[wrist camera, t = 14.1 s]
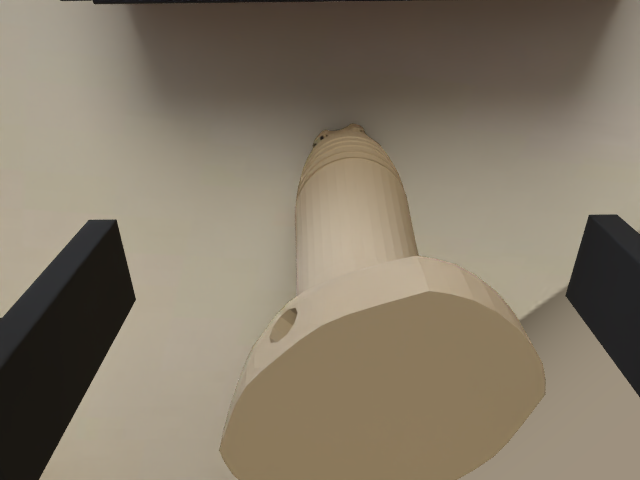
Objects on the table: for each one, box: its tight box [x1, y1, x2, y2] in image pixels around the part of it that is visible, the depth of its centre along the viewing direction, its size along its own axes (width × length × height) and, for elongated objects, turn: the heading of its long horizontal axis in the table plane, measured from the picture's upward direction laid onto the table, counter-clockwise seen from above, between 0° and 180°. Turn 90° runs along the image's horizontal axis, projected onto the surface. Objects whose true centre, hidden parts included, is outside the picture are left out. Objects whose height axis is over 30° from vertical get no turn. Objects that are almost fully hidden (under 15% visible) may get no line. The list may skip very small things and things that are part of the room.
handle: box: [219, 123, 545, 480], centre depth 16 cm, size 5×6×15 cm
